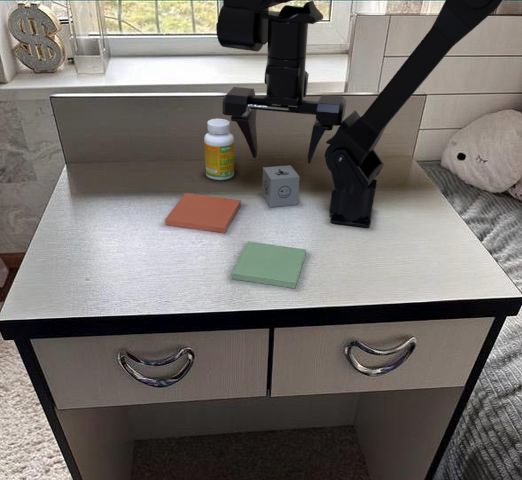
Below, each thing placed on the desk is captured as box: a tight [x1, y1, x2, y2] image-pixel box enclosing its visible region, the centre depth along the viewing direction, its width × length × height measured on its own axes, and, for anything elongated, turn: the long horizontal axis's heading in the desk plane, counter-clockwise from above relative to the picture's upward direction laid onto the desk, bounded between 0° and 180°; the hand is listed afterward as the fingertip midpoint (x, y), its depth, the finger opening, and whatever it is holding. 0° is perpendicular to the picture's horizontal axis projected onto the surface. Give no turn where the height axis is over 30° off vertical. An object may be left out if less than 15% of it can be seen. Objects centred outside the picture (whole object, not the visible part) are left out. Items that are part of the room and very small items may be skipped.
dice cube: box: [261, 164, 301, 208], centre depth 90 cm, size 5×5×5 cm
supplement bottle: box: [203, 118, 235, 181], centre depth 96 cm, size 5×5×10 cm
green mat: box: [231, 240, 307, 289], centre depth 76 cm, size 9×9×1 cm
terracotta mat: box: [164, 192, 242, 234], centre depth 87 cm, size 10×10×1 cm
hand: (281, 160), depth 87 cm, fingers open, 9 cm apart
